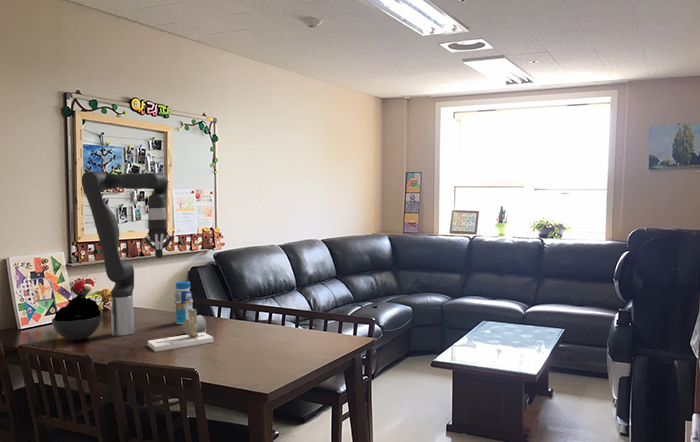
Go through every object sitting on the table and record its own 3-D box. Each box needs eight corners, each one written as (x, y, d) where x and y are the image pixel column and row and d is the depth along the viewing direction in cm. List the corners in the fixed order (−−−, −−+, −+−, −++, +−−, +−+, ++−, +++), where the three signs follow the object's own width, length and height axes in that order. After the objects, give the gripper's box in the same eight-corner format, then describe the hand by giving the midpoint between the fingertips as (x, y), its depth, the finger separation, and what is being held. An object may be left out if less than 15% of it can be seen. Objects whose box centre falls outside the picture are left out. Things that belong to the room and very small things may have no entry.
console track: (155, 351, 232) (155, 346, 232) (147, 345, 243) (147, 340, 242) (213, 342, 245) (213, 337, 245) (204, 336, 255) (204, 331, 255)
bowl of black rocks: (83, 345, 245) (81, 301, 244) (42, 344, 249) (40, 300, 248) (112, 334, 264) (110, 293, 264) (73, 333, 268) (71, 292, 268)
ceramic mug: (181, 333, 262) (181, 316, 262) (197, 330, 268) (197, 313, 268) (194, 337, 255) (194, 320, 255) (210, 334, 261) (210, 317, 261)
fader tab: (192, 338, 243) (191, 310, 243) (187, 335, 249) (186, 308, 248) (199, 337, 245) (198, 310, 244) (194, 334, 250) (193, 307, 250)
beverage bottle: (174, 321, 288) (172, 281, 287) (191, 319, 291) (190, 280, 290) (177, 325, 280) (175, 283, 279) (194, 323, 284) (193, 282, 283)
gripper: (170, 217, 262) (171, 256, 263) (139, 219, 255) (141, 258, 256) (174, 218, 256) (176, 257, 256) (143, 219, 248) (145, 259, 249)
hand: (158, 257), depth 256 cm, fingers closed
